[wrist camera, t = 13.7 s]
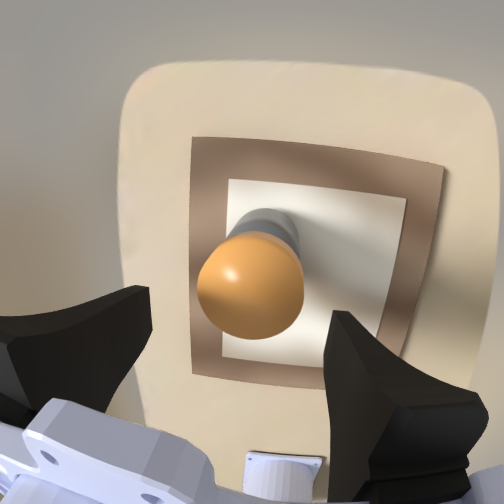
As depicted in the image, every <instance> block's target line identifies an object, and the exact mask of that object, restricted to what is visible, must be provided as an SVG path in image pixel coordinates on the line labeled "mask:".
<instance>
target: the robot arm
mask: <svg viewBox="0 0 504 504" xmlns="http://www.w3.org/2000/svg"><path fill="white" fill-rule="evenodd" d="M152 330H153V329H152V318H151V307H150V294H149V287H145V286H138V285H134V286H130V287H127V288H124V289H121V290H118V291H115V292H113V293H110V294H108V295H105V296H102V297H100V298H97V299H94V300H91V301H89V302H86V303H83V304H80V305H77V306H74V307H70V308H66V309H63V310H58V311H54V312H48V313H42V314H35V315H26V316H0V493H2V494H3V495H4V498H3V500H2V501H1V502H0V504H504V465H498V466H495V467H492V468H488V469H484V470H481V471H478V472H475V473H473V474H472V475H470V476H469V477H468V476H467V473H466V470H465V469H466V468H468V466H469V460H468V458H467V454H468V453H469V452H470V450H471V449H472V448H473V447H474V445H475V444H476V443H477V441H478V440H479V438H480V437H481V436H482V434H483V432H484V430H485V429H486V427H487V424H488V420H489V416H488V411H487V409H486V408H485V406H484V404H483V402H482V400H481V399H480V397H479V395H478V393H476V392H472V391H469V390H466V389H462V388H459V387H456V386H453V385H450V384H448V383H445V382H443V381H440V380H438V379H436V378H434V377H431V376H429V375H427V374H426V373H424V372H422V371H420V370H418V369H416V368H415V367H413V366H411V365H410V364H408V363H407V362H405V361H404V360H402V359H401V358H399V357H398V356H397V355H395V354H394V353H393V352H391V351H390V350H389V349H388V348H386V347H385V346H384V345H383V344H382V343H381V342H379V341H378V340H377V339H376V338H375V337H374V336H373V335H372V334H371V333H370V332H369V331H368V330H367V329H366V328H365V327H364V326H363V325H362V324H361V323H360V322H359V321H358V320H357V319H356V318H355V317H354V316H353V315H352V314H351V313H350V312H349V311H341V310H333V311H332V316H331V321H330V326H329V330H328V335H327V339H326V344H325V348H324V352H323V375H324V382H325V389H326V396H327V403H328V410H329V418H330V474H329V488H328V499H327V503H312V484H313V481H314V479H315V477H316V475H317V473H318V470H319V468H320V466H321V463H322V458H320V457H304V456H289V455H277V454H267V453H258V452H248V453H247V454H246V462H245V472H244V481H243V491H245V492H244V493H241V492H238V491H235V490H231V489H228V488H225V487H222V486H219V485H216V484H215V481H214V468H213V466H212V464H211V462H210V460H209V459H208V457H207V455H206V454H205V453H204V452H203V451H201V450H200V449H198V448H197V447H196V446H194V445H193V444H192V443H190V442H189V441H187V440H186V439H183V438H180V437H178V436H175V435H173V434H170V433H167V432H165V431H162V430H158V429H154V428H150V427H147V426H143V425H140V424H136V423H133V422H129V421H126V420H123V419H120V418H117V417H113V416H111V415H108V414H105V412H106V410H107V407H108V405H109V403H110V401H111V399H112V397H113V395H114V393H115V391H116V390H117V388H118V386H119V385H120V383H121V382H122V380H123V379H124V377H125V376H126V375H127V373H128V372H129V370H130V369H131V367H132V366H133V364H134V363H135V361H136V360H137V358H138V357H139V355H140V354H141V352H142V351H143V349H144V348H145V345H146V343H147V341H148V339H149V337H150V335H151V333H152Z"/></svg>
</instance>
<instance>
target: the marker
mask: <svg viewBox="0 0 504 504" xmlns="http://www.w3.org/2000/svg"><path fill="white" fill-rule="evenodd" d="M197 295H198V300H199V303H200V306H201V308H202V310H203V312H204V313H205V315H206V316H207V318H208V319H209V320H210V321H211V322H212V323H213V324H214V325H215V326H216V327H218V328H219V329H220V330H222V331H223V332H225V333H227V334H229V335H232V336H234V337H237V338H241V339H248V340H260V339H266V338H270V337H273V336H276V335H278V334H280V333H282V332H283V331H285V330H286V329H288V328H289V327H290V326H291V325H292V324H293V323H294V321H295V320H296V319H297V317H298V316H299V314H300V312H301V309H302V306H303V302H304V280H303V270H302V266H301V263H300V246H299V235H298V231H297V228H296V226H295V224H294V223H293V222H292V220H291V219H290V218H289V217H288V216H286V215H285V214H284V213H282V212H280V211H278V210H275V209H270V208H259V209H255V210H252V211H250V212H248V213H246V214H245V215H244V216H243V217H242V218H240V220H239V221H238V222H237V224H236V225H235V226H234V228H233V229H232V231H231V232H230V233H229V235H228V236H227V237H226V239H225V240H224V241H223V242H222V243H221V244H219V245H218V246H217V248H216V249H215V250H214V252H213V253H212V254H211V256H210V257H209V258H208V260H207V261H206V262H205V264H204V266H203V267H202V269H201V271H200V274H199V277H198V281H197Z"/></svg>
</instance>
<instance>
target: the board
mask: <svg viewBox="0 0 504 504" xmlns="http://www.w3.org/2000/svg"><path fill="white" fill-rule="evenodd" d="M443 170H444V166H441V165H436V164H432V163H427V162H422V161H417V160H412V159H407V158H402V157H397V156H391V155H385V154H380V153H374V152H367V151H361V150H354V149H347V148H340V147H332V146H324V145H315V144H306V143H296V142H285V141H273V140H259V139H243V138H221V137H192V147H191V170H190V204H189V302H190V335H191V358H192V374H197V375H203V376H208V377H215V378H221V379H227V380H234V381H241V382H249V383H256V384H265V385H274V386H284V387H294V388H306V389H321V390H326V389H325V382H324V375H323V352H324V348H325V344H326V339H327V335H328V330H329V326H330V321H331V316H332V311H333V310H341V311H349V312H350V313H351V314H352V315H353V316H354V317H355V318H356V319H357V320H358V321H359V322H360V323H361V324H362V325H363V326H364V327H365V328H366V329H367V330H368V331H369V332H370V333H371V334H372V335H373V336H374V337H375V338H376V339H377V340H378V341H379V342H381V343H382V344H383V345H384V346H385V347H386V348H388V349H389V350H390V351H391V352H393V353H394V354H395V355H397V356H398V357H399V354H400V352H401V349H402V346H403V343H404V340H405V337H406V334H407V331H408V328H409V325H410V322H411V319H412V316H413V312H414V309H415V306H416V302H417V299H418V295H419V292H420V288H421V284H422V280H423V277H424V273H425V269H426V265H427V260H428V256H429V252H430V247H431V242H432V238H433V233H434V228H435V222H436V217H437V211H438V205H439V199H440V193H441V186H442V178H443ZM259 208H270V209H275V210H278V211H280V212H282V213H284V214H285V215H286V216H288V217H289V218H290V219H291V220H292V222H293V223H294V224H295V226H296V228H297V231H298V235H299V246H300V263H301V266H302V270H303V280H304V302H303V306H302V309H301V312H300V314H299V316H298V317H297V319H296V320H295V321H294V323H293V324H292V325H291V326H290V327H289V328H288V329H286V330H285V331H283V332H282V333H280V334H278V335H276V336H273V337H270V338H266V339H260V340H248V339H241V338H237V337H234V336H232V335H229V334H227V333H225V332H223V331H222V330H220V329H219V328H218V327H216V326H215V325H214V324H213V323H212V322H211V321H210V320H209V319H208V318H207V316H206V315H205V313H204V312H203V310H202V308H201V306H200V303H199V300H198V295H197V281H198V277H199V274H200V271H201V269H202V267H203V266H204V264H205V262H206V261H207V260H208V258H209V257H210V256H211V254H212V253H213V252H214V250H215V249H216V248H217V246H218V245H219V244H221V243H222V242H223V241H224V240H225V239H226V237H227V236H228V235H229V233H230V232H231V231H232V229H233V228H234V226H235V225H236V224H237V222H238V221H239V220H240V218H242V217H243V216H244V215H245V214H246V213H248V212H250V211H252V210H255V209H259Z"/></svg>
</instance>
